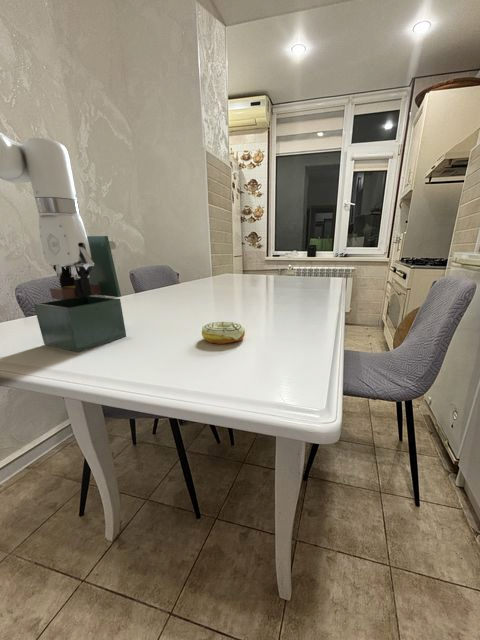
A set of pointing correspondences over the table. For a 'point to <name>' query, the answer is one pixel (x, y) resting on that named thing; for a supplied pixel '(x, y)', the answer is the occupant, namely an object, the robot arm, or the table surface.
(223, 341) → the decorated donut
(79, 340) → the bin
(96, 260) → the bin lid
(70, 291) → the chocolate
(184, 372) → the table surface
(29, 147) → the robot arm
